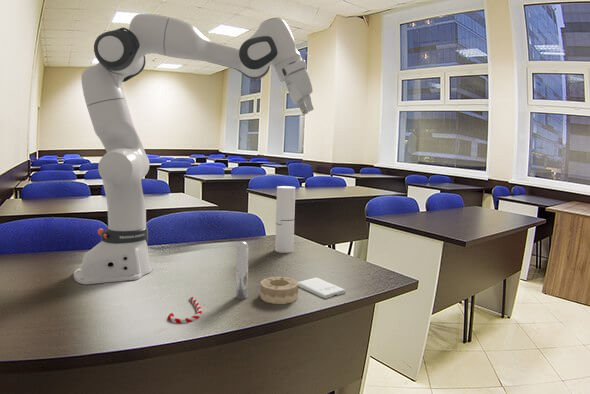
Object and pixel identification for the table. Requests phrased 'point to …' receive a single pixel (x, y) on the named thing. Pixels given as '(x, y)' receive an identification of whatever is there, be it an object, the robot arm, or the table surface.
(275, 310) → the table surface
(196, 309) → the candy cane
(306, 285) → the external hard drive
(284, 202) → the cylindrical container
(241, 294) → the white peg
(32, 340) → the table surface
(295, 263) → the table surface
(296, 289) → the tan ring
